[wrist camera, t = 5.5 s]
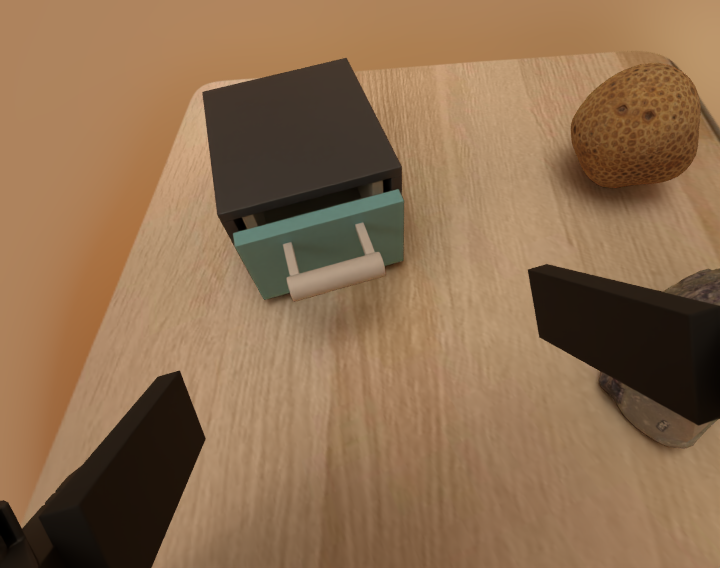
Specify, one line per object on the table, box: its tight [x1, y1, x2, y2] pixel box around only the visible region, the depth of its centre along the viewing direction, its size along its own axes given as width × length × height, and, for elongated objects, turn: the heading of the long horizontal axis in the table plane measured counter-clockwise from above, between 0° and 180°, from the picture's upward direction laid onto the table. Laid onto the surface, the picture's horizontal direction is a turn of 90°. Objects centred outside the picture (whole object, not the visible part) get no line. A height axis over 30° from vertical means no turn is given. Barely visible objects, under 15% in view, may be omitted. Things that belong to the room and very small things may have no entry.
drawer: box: [233, 180, 404, 302], centre depth 32 cm, size 18×11×7 cm, turn 16°
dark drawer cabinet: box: [203, 58, 402, 283], centre depth 35 cm, size 15×13×9 cm
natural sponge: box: [571, 63, 701, 188], centre depth 33 cm, size 9×9×10 cm
